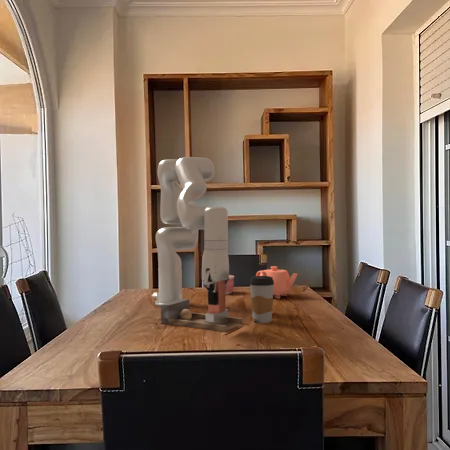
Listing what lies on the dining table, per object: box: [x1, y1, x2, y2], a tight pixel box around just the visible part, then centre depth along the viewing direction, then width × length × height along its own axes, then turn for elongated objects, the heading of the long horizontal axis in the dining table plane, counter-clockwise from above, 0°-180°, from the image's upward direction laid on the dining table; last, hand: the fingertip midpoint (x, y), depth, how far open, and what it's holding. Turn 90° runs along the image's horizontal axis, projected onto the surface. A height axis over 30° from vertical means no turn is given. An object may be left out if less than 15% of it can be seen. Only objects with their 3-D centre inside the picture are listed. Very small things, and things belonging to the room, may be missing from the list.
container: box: [225, 274, 235, 295], centre depth 212 cm, size 10×10×8 cm
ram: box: [204, 280, 229, 325], centre depth 143 cm, size 4×9×14 cm, turn 150°
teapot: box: [255, 265, 298, 300], centre depth 200 cm, size 16×17×14 cm
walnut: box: [180, 308, 192, 321], centre depth 149 cm, size 4×4×4 cm
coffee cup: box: [249, 275, 274, 324], centre depth 153 cm, size 8×8×15 cm
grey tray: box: [160, 298, 244, 336], centre depth 146 cm, size 24×12×7 cm, turn 60°
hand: (216, 302), depth 143 cm, fingers closed on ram, 4 cm apart
